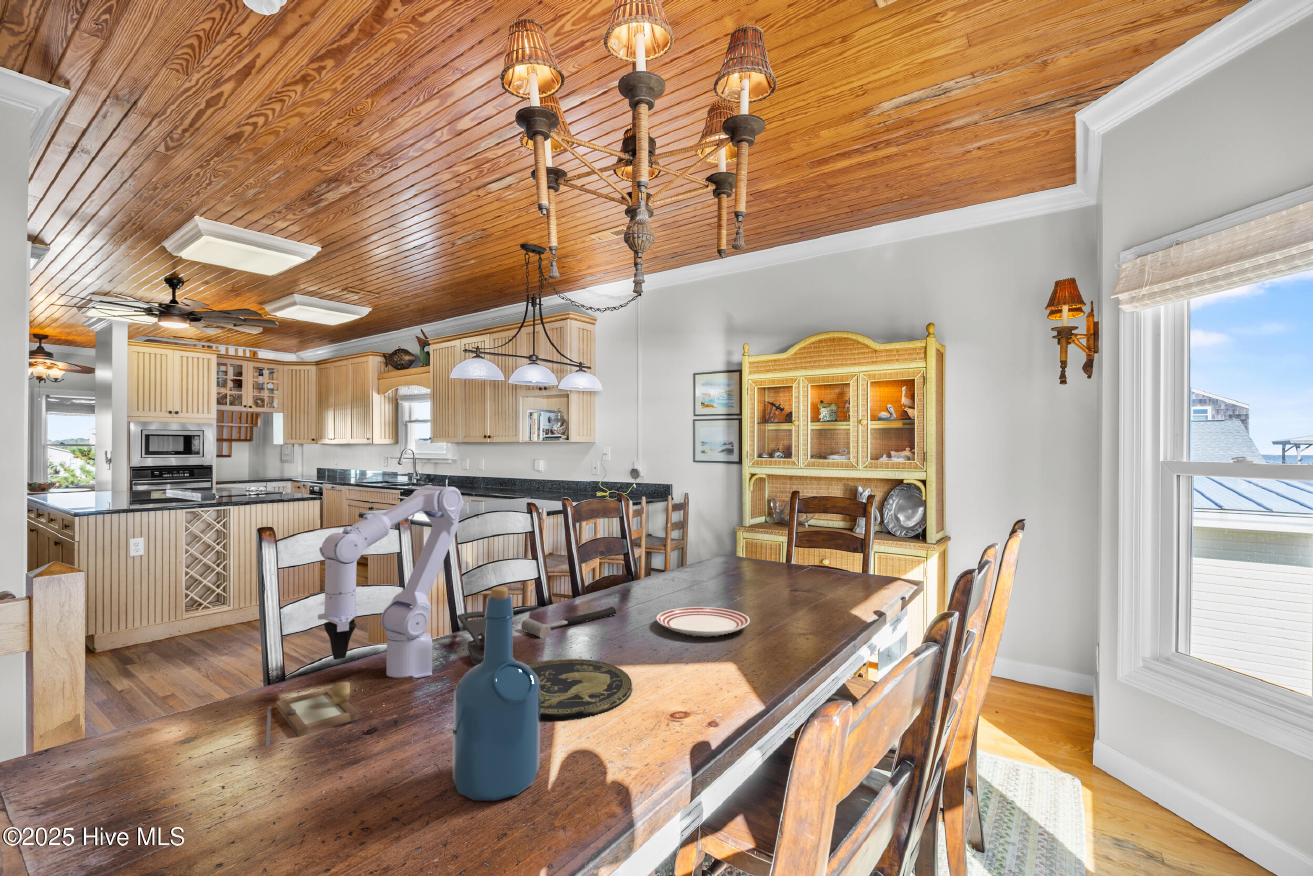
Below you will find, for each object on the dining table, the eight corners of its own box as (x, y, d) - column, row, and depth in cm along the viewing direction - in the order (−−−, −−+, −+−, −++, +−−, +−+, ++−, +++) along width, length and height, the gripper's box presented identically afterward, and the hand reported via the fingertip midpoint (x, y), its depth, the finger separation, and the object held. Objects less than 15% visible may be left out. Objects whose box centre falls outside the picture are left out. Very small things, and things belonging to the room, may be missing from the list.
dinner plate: (644, 618, 181) (645, 608, 181) (726, 612, 189) (726, 602, 190) (674, 647, 155) (674, 635, 155) (766, 638, 163) (766, 626, 163)
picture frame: (336, 692, 122) (336, 671, 122) (362, 717, 111) (363, 695, 111) (276, 707, 114) (276, 686, 114) (298, 736, 103) (298, 712, 103)
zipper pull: (487, 609, 165) (513, 634, 143) (486, 633, 165) (513, 661, 143) (454, 614, 160) (476, 640, 139) (454, 638, 160) (476, 668, 139)
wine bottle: (437, 779, 92) (440, 587, 93) (511, 749, 101) (514, 575, 102) (479, 818, 82) (482, 604, 83) (557, 782, 92) (560, 589, 92)
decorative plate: (464, 705, 115) (527, 652, 145) (464, 714, 115) (527, 660, 144) (611, 721, 109) (645, 663, 139) (611, 732, 109) (645, 671, 139)
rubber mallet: (623, 608, 181) (539, 627, 160) (623, 620, 181) (539, 640, 160) (603, 602, 188) (521, 619, 167) (603, 614, 188) (521, 632, 167)
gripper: (316, 586, 125) (315, 650, 125) (320, 601, 113) (318, 672, 113) (353, 582, 129) (352, 644, 129) (361, 597, 117) (359, 665, 117)
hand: (339, 657), depth 121 cm, fingers closed
